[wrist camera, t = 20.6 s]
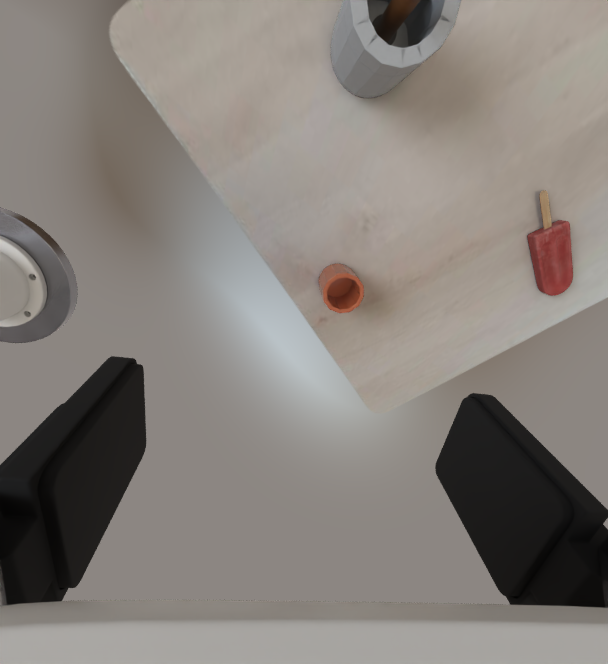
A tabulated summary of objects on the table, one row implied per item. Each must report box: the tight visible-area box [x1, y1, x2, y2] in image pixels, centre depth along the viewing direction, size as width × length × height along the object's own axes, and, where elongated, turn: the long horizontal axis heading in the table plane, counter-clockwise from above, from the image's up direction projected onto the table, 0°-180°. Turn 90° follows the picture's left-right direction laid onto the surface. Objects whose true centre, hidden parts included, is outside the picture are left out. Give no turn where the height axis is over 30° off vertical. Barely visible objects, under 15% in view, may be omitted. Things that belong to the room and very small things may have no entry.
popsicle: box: [527, 191, 573, 296], centre depth 45 cm, size 4×2×15 cm
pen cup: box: [319, 264, 364, 313], centre depth 43 cm, size 5×5×6 cm
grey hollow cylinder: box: [331, 0, 461, 98], centre depth 30 cm, size 9×9×11 cm
